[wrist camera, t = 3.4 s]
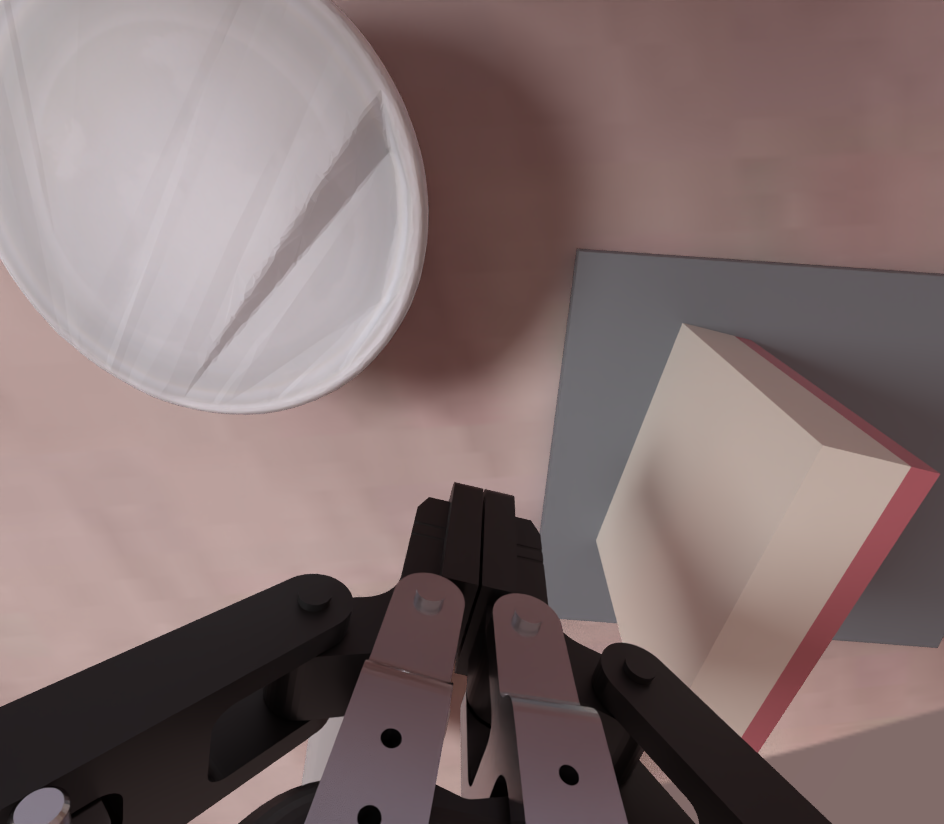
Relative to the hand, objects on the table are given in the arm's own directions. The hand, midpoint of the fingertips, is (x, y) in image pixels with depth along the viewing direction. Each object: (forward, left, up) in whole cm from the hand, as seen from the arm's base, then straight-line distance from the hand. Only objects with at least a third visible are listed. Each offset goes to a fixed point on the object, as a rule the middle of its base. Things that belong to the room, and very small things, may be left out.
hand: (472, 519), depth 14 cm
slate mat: (+2, +11, -8) cm, 14 cm away
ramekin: (-7, -7, -8) cm, 13 cm away
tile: (+1, +7, -7) cm, 10 cm away
